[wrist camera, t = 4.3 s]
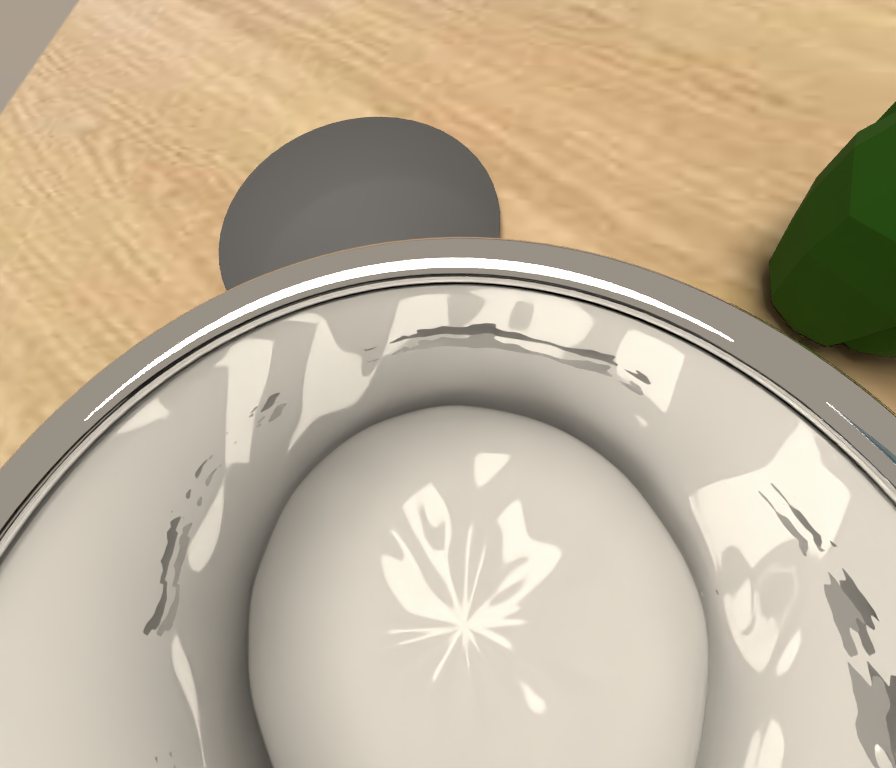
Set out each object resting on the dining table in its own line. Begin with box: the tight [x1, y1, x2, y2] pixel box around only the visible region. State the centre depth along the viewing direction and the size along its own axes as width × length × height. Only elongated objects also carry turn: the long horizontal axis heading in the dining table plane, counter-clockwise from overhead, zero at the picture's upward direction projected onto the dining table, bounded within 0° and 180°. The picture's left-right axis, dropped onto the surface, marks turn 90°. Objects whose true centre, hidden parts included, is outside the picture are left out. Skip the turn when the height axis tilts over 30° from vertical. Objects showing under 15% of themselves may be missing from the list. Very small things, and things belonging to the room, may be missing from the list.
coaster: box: [219, 117, 500, 291], centre depth 21 cm, size 14×14×1 cm
